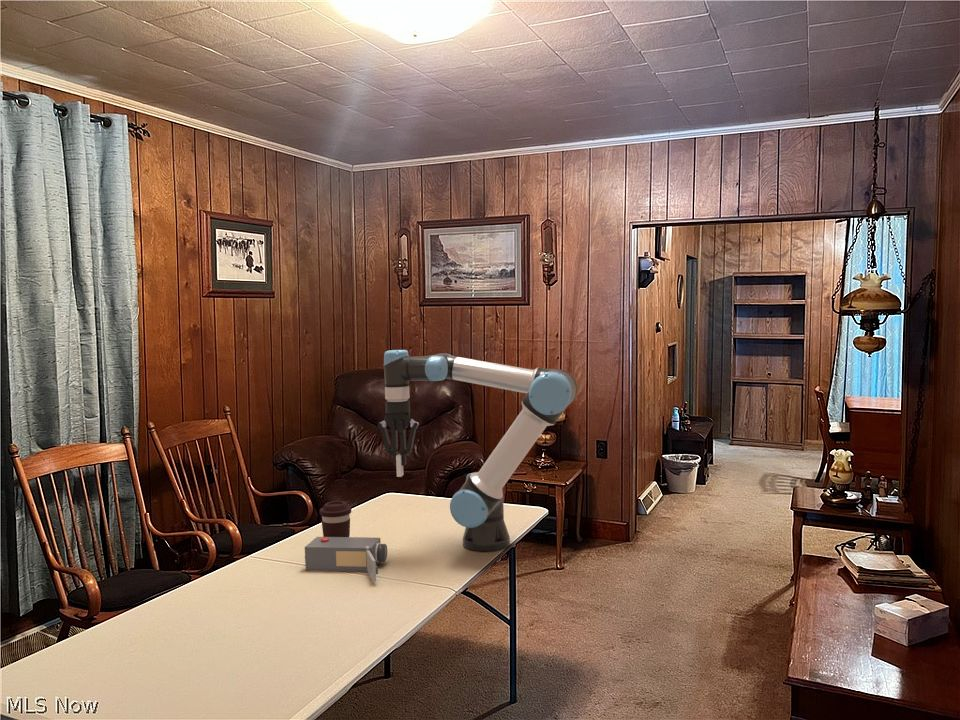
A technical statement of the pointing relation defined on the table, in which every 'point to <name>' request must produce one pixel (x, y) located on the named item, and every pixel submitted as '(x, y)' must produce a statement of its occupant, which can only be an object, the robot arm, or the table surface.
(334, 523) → the coffee cup
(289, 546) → the table surface
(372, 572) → the side door
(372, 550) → the camera box
